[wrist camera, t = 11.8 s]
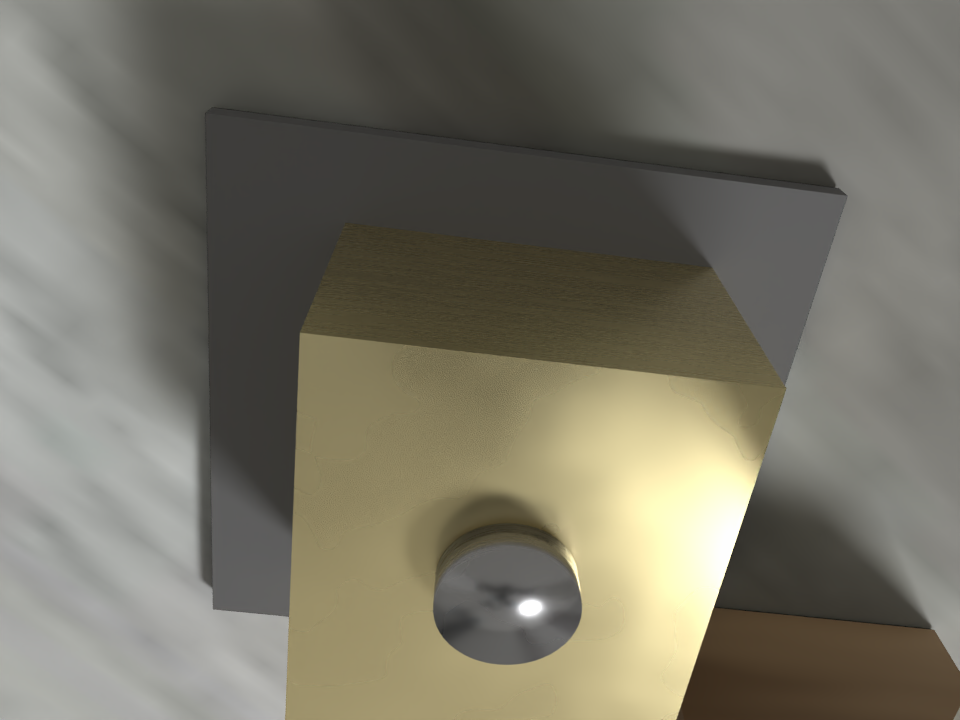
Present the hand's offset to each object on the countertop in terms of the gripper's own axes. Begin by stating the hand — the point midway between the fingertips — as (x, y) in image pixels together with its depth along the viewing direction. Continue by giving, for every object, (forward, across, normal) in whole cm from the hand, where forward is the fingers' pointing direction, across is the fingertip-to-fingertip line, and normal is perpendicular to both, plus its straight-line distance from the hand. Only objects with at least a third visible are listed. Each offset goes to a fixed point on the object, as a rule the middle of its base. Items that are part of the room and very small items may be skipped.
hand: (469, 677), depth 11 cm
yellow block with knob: (+5, 0, 0) cm, 5 cm away
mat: (+6, 0, 0) cm, 6 cm away
